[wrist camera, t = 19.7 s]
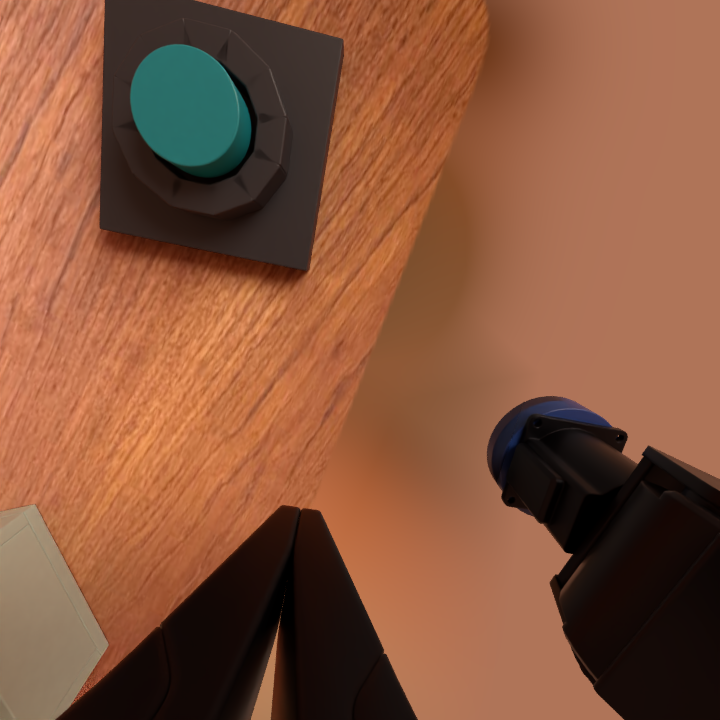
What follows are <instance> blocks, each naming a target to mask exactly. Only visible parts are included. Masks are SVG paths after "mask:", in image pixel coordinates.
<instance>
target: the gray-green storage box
mask: <svg viewBox="0 0 720 720" xmlns="http://www.w3.org/2000/svg"><path fill="white" fill-rule="evenodd" d="M108 646H109V644H108V642H107V640H106V638H105V636H104V634H103V632H102V630H101V628H100V627H99V625H98V623H97V621H96V619H95V617H94V615H93V613H92V611H91V609H90V608H89V606H88V604H87V602H86V600H85V598H84V596H83V594H82V592H81V590H80V589H79V587H78V585H77V583H76V581H75V579H74V577H73V575H72V573H71V571H70V570H69V568H68V566H67V564H66V562H65V560H64V558H63V556H62V554H61V552H60V551H59V549H58V547H57V545H56V543H55V541H54V539H53V537H52V535H51V534H50V532H49V530H48V528H47V526H46V524H45V522H44V520H43V518H42V516H41V515H40V513H39V511H38V509H37V507H36V505H35V504H33V505H28V506H24V507H19V508H15V509H10V510H6V511H1V512H0V720H55V719H56V718H57V717H59V716H60V715H61V714H62V713H63V712H64V711H66V710H67V709H68V708H69V707H70V705H71V704H72V702H73V701H74V699H75V698H76V696H77V694H78V693H79V691H80V690H81V688H82V687H83V685H84V683H85V682H86V680H87V679H88V677H89V676H90V674H91V672H92V671H93V669H94V668H95V666H96V665H97V663H98V662H99V660H100V658H101V656H102V655H103V654H104V652H105V651H106V649H107V647H108Z"/></svg>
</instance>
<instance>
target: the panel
mask: <svg viewBox="0 0 720 720" xmlns="http://www.w3.org/2000/svg"><path fill="white" fill-rule="evenodd" d="M173 44H182V45H188V46H192V47H195V48H198V49H200V50H202V51H204V52H206V53H207V54H209V55H210V56H212V57H213V58H214V59H215V60H216V61H218V62H219V63H220V65H221V66H222V67H223V68H224V69H225V71H226V72H227V73H228V75H229V76H230V78H231V80H232V81H233V83H234V85H235V86H236V88H237V90H238V91H239V93H240V94H241V96H242V98H243V100H244V101H245V104H246V106H247V108H248V112H249V115H250V120H251V140H250V144H249V148H248V150H247V153H246V155H245V157H244V158H243V160H242V161H241V162H240V164H239V165H238V166H237V167H236V168H234V169H233V170H232V171H230V172H229V173H227V174H225V175H222V176H219V177H214V178H202V177H197V176H194V175H191V174H189V173H186V172H185V171H183V170H181V169H180V168H178V167H176V166H175V165H173V164H171V163H170V162H168V161H166V160H165V159H163V158H162V157H160V156H159V155H158V154H156V153H155V152H154V151H153V150H152V149H151V148H150V147H149V146H148V145H147V143H146V142H145V141H144V139H143V138H142V136H141V135H140V133H139V131H138V129H137V127H136V124H135V122H134V119H133V115H132V111H131V105H130V90H131V84H132V80H133V77H134V74H135V72H136V70H137V68H138V66H139V65H140V63H141V62H142V61H143V59H144V58H145V57H146V56H148V55H149V54H150V53H151V52H153V51H154V50H156V49H158V48H160V47H163V46H167V45H173ZM343 57H344V45H343V39H341V38H337V37H333V36H329V35H326V34H322V33H318V32H314V31H310V30H306V29H303V28H299V27H295V26H291V25H287V24H283V23H279V22H276V21H272V20H268V19H264V18H260V17H256V16H252V15H249V14H245V13H241V12H237V11H233V10H229V9H225V8H222V7H218V6H214V5H210V4H206V3H202V2H199V1H195V0H105V21H104V63H103V105H102V147H101V189H100V229H103V230H108V231H113V232H118V233H123V234H128V235H132V236H137V237H142V238H147V239H152V240H157V241H162V242H167V243H172V244H176V245H181V246H186V247H191V248H196V249H201V250H206V251H211V252H216V253H220V254H225V255H230V256H235V257H240V258H245V259H250V260H255V261H260V262H264V263H269V264H274V265H279V266H284V267H289V268H294V269H299V270H304V271H309V268H310V261H311V255H312V249H313V243H314V237H315V230H316V224H317V218H318V212H319V206H320V199H321V193H322V187H323V181H324V175H325V168H326V162H327V156H328V150H329V144H330V137H331V131H332V125H333V119H334V113H335V106H336V100H337V94H338V88H339V82H340V75H341V69H342V63H343Z"/></svg>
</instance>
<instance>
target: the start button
mask: <svg viewBox="0 0 720 720" xmlns="http://www.w3.org/2000/svg"><path fill="white" fill-rule="evenodd" d="M130 105H131V111H132V115H133V119H134V122H135V124H136V127H137V129H138V131H139V133H140V135H141V136H142V138H143V139H144V141H145V142H146V143H147V145H148V146H149V147H150V148H151V149H152V150H153V151H154V152H155V153H156V154H158V155H159V156H160V157H162V158H163V159H165V160H166V161H168V162H170V163H171V164H173V165H175V166H176V167H178V168H180V169H181V170H183V171H185V172H186V173H189V174H191V175H194V176H197V177H202V178H214V177H219V176H222V175H225V174H227V173H229V172H230V171H232V170H233V169H234V168H236V167H237V166H238V165H239V164H240V162H241V161H242V160H243V158H244V157H245V155H246V153H247V150H248V148H249V144H250V140H251V120H250V115H249V112H248V108H247V106H246V104H245V101H244V100H243V98H242V96H241V94H240V93H239V91H238V90H237V88H236V86H235V85H234V83H233V81H232V80H231V78H230V76H229V75H228V73H227V72H226V71H225V69H224V68H223V67H222V66H221V65H220V63H219V62H218V61H216V60H215V59H214V58H213V57H212V56H210V55H209V54H207V53H206V52H204V51H202V50H200V49H198V48H195V47H192V46H188V45H182V44H173V45H167V46H163V47H160V48H158V49H156V50H154V51H153V52H151V53H150V54H149V55H148V56H146V57H145V58H144V59H143V61H142V62H141V63H140V65H139V66H138V68H137V70H136V72H135V74H134V77H133V80H132V84H131V90H130Z"/></svg>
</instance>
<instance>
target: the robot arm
mask: <svg viewBox="0 0 720 720" xmlns="http://www.w3.org/2000/svg"><path fill="white" fill-rule="evenodd" d="M536 420H538V423H537V424H534V422H535V421H536ZM618 435H619V437H618V438H616V437H617V436H618ZM627 438H628V436H627V433H626V432H624V431H623V430H621V429H619V428H614V427H608V426H603V425H597V424H592V423H586V422H581V421H575V420H570V419H564V418H559V417H553V416H548V415H542V414H532V415H530V416H529V417H528V419H527V421H526V424H525V427H524V430H523V433H522V436H521V439H520V442H519V444H518V445H517V446H516V449H515V452H514V455H513V458H512V461H511V464H510V467H509V470H508V473H507V476H506V480H507V481H506V484H505V487H504V490H503V492H502V496H501V497H502V500H503V502H504V503H505V504H506V505H507V506H509V507H515V508H521V509H528V510H529V511H530V512H531V513H532V515H533V516H534V517H535V519H536V520H537V521H538V522H539V523H541V524H544V526H545V527H546V528H547V529H548V531H549V532H550V533H551V535H552V536H553V537H554V538H555V540H556V541H557V542H558V543H559V545H560V546H561V548H562V549H563V550H564V551H565V552H566V553H570V554H573V555H572V556H571V558H570V559H569V561H568V562H567V563H566V565H565V566H564V567H563V569H562V570H561V572H560V573H559V574H558V575H555V576H554V577H553V578H552V580H551V581H550V586H551V589H552V592H553V595H554V598H555V601H556V604H557V607H558V610H559V613H560V616H561V619H562V622H563V627H562V628H563V631H564V634H565V637H566V639H567V640H568V642H569V644H570V645H571V648H572V651H573V653H574V656H575V658H576V660H577V662H578V663H579V665H580V668H581V670H582V672H583V673H584V675H585V676H586V677H587V678H588V679H589V680H590V681H591V683H592V684H593V687H594V690H595V691H596V692H597V694H598V695H599V696H600V697H601V698H603V700H605V702H607V703H608V704H609V705H610V706H611V707H612V708H613V709H614V710H615V711H616V712H617V713H618V714H619V715H620V716H621V717H622V718H623V719H624V720H720V479H718V478H716V477H714V476H712V475H710V474H707V473H705V472H703V471H701V470H699V469H697V468H695V467H692V466H691V465H688V464H686V463H684V462H682V461H680V460H678V459H676V458H674V457H672V456H669V455H667V454H665V453H663V452H661V451H659V450H656V449H655V448H653V447H651V446H648V447H647V448H646V449H645V451H644V452H643V454H642V455H643V456H644V457H643V458H642V460H641V461H640V462H639V464H637V463H635V462H634V461H632V460H631V459H629V458H628V457H626V456H625V455H623V454H622V451H623V448H624V446H625V443H626V441H627ZM509 497H512V498H511V499H509V500H508V498H509ZM284 595H285V596H284ZM283 600H284V601H283ZM282 606H283V607H282ZM281 611H282V612H281ZM280 616H281V618H280ZM279 620H280V625H279V632H278V641H277V651H276V664H275V676H274V688H273V700H272V713H271V720H418V719H417V717H416V715H415V713H414V711H413V710H412V707H411V705H410V703H409V701H408V700H407V698H406V695H405V693H404V691H403V689H402V687H401V685H400V683H399V681H398V679H397V677H396V675H395V672H394V670H393V668H392V666H391V664H390V661H389V659H388V657H387V655H386V654H383V653H384V649H383V647H382V644H381V642H380V640H379V638H378V636H377V633H376V631H375V629H374V627H373V625H372V623H371V620H370V618H369V616H368V614H367V612H366V610H365V607H364V605H363V603H362V601H361V599H360V597H359V594H358V592H357V590H356V588H355V586H354V583H353V581H352V579H351V577H350V575H349V573H348V570H347V568H346V566H345V564H344V562H343V559H342V557H341V555H340V553H339V551H338V549H337V546H336V544H335V542H334V540H333V538H332V536H331V533H330V531H329V529H328V527H327V525H326V522H325V520H324V518H323V516H322V514H321V512H320V511H318V510H312V509H306V508H303V509H302V510H301V512H300V509H299V508H298V507H292V506H286V505H282V506H280V507H279V508H278V509H277V510H276V511H275V512H274V513H273V514H272V515H271V516H270V517H269V518H268V519H267V520H266V521H265V522H264V523H263V524H262V525H261V526H260V527H259V528H258V529H257V530H256V531H255V532H254V533H253V534H252V535H251V536H250V537H249V538H248V539H247V540H245V541H244V542H243V543H242V544H241V545H240V546H239V547H238V548H237V549H236V550H235V551H234V552H233V553H232V554H231V555H230V556H229V557H228V558H227V559H226V560H225V561H224V562H223V563H222V564H221V565H220V566H219V567H218V568H217V569H216V570H215V571H214V572H213V573H212V574H211V575H210V576H209V577H208V578H207V579H206V580H205V581H204V582H203V583H202V584H201V585H199V586H198V587H197V588H196V589H195V590H194V591H193V592H192V593H191V594H190V595H189V596H188V597H187V598H186V599H185V600H184V601H183V602H182V603H181V604H180V605H179V606H178V607H177V608H176V609H175V610H174V611H173V612H172V613H171V614H170V615H169V616H168V617H167V618H166V619H165V620H164V621H163V622H162V623H161V624H160V627H156V628H155V629H154V630H153V631H152V632H151V633H150V634H149V635H148V636H147V637H146V638H145V639H144V640H143V641H142V642H141V643H140V644H139V645H138V646H137V647H136V648H135V649H134V650H133V651H132V652H131V653H129V654H128V655H127V656H126V657H125V658H124V659H123V660H122V661H121V662H120V663H119V664H118V665H117V666H116V667H114V668H113V669H112V670H111V671H110V672H109V673H108V674H107V675H106V676H105V677H104V678H103V679H102V680H101V681H99V682H98V683H97V684H96V685H95V686H94V687H92V688H91V689H90V690H89V691H88V692H87V693H85V694H84V695H83V696H82V697H81V698H80V699H78V700H77V701H76V702H75V703H74V704H73V705H71V706H70V707H69V708H68V709H67V710H66V711H64V712H63V713H62V714H61V715H60V716H59V717H57V718H56V719H55V720H251V716H252V713H253V710H254V706H255V703H256V700H257V696H258V693H259V690H260V687H261V683H262V680H263V677H264V673H265V670H266V667H267V663H268V660H269V657H270V654H271V650H272V647H273V644H274V640H275V636H276V633H277V629H278V624H279Z"/></svg>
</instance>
